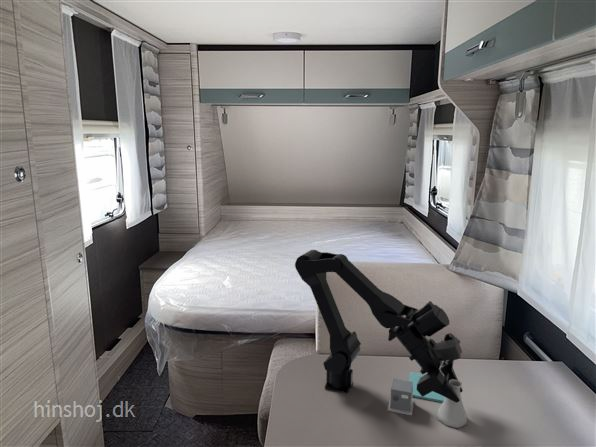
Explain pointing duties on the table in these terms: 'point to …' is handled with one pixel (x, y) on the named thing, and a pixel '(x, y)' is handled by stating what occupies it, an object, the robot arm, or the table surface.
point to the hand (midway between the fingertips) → (459, 396)
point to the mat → (430, 396)
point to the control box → (401, 397)
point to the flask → (453, 409)
